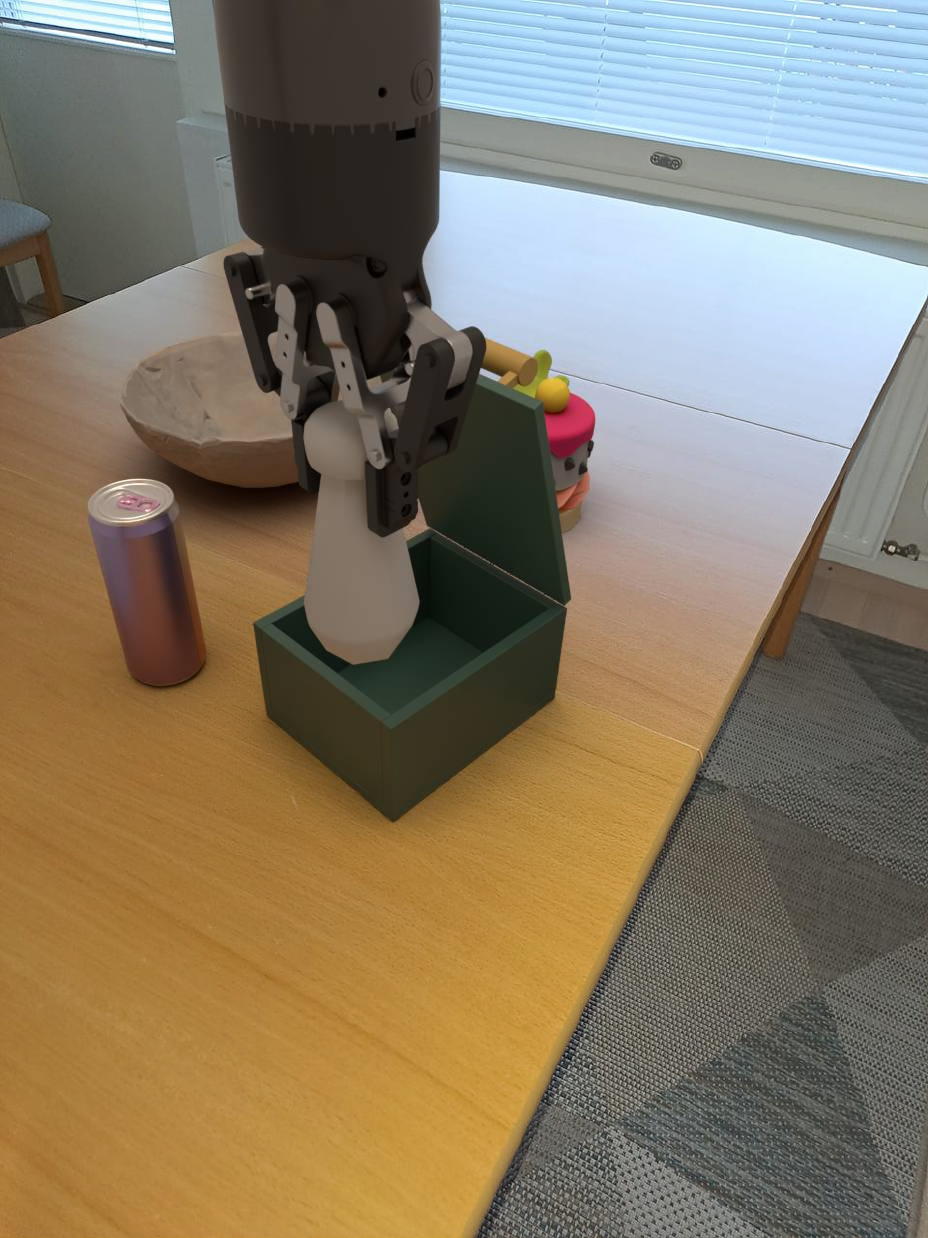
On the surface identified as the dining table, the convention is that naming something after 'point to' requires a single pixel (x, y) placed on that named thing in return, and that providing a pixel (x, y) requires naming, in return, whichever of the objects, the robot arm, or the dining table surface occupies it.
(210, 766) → the dining table surface
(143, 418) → the bowl
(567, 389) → the cake
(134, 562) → the beverage can
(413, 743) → the chest
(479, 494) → the lid
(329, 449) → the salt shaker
